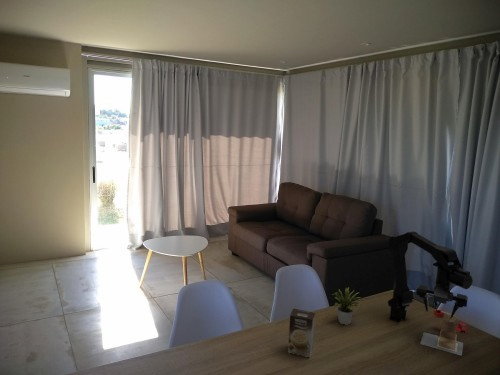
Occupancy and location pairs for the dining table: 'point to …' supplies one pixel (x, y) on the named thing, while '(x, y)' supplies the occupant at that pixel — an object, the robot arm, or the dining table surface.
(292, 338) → the coffee box
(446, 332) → the walnut cube
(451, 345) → the oak base block
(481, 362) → the dining table surface
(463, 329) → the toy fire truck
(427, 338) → the plate
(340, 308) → the house plant
